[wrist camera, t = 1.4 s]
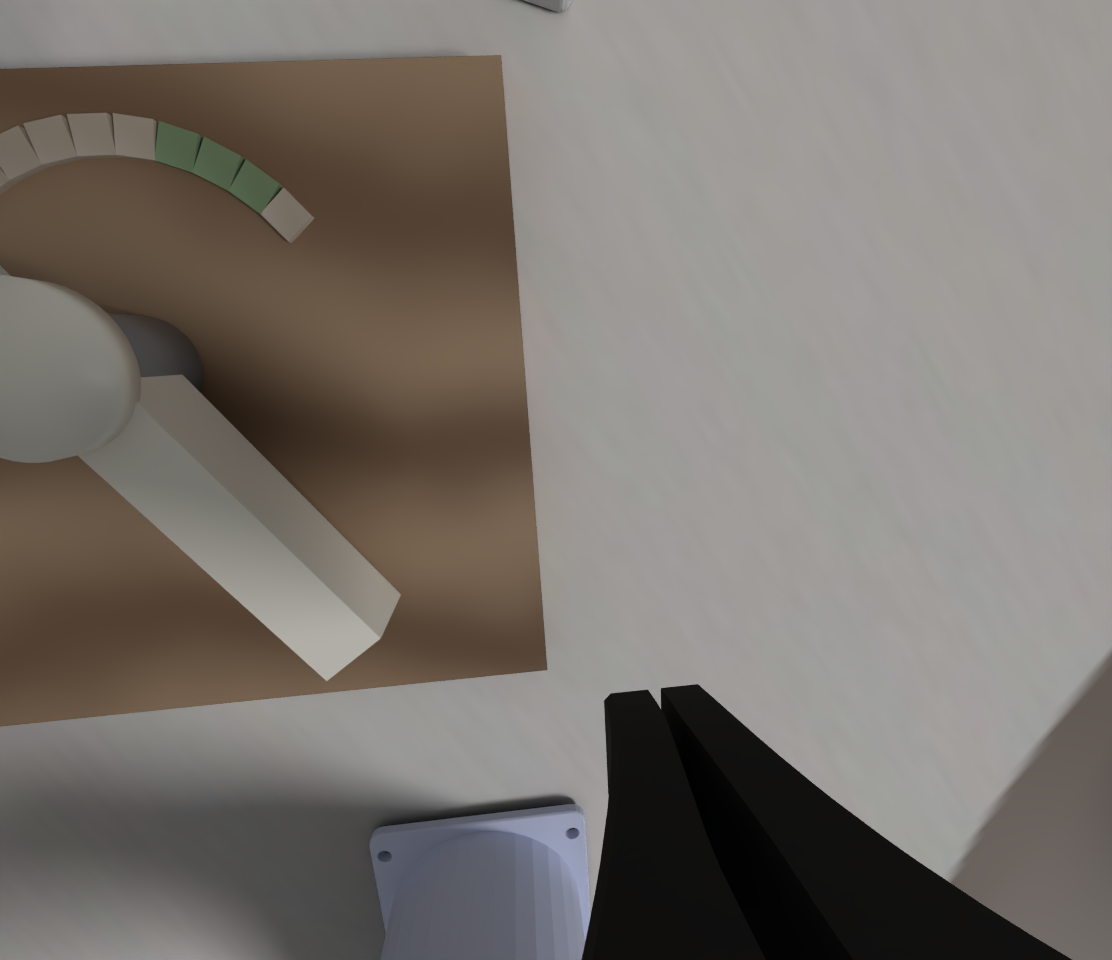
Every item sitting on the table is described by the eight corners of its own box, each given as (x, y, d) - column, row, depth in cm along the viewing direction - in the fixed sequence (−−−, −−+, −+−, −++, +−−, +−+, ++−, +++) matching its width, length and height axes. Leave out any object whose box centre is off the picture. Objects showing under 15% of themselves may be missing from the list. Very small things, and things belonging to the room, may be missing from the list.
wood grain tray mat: (544, 649, 18) (547, 673, 17) (-59, 710, 17) (-109, 741, 16) (501, 79, 14) (500, 50, 13) (-304, 104, 13) (-400, 75, 12)
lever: (-90, 225, 13) (-353, 170, 9) (10, 126, 12) (-216, 23, 9) (341, 633, 16) (288, 721, 12) (429, 563, 16) (402, 631, 12)
